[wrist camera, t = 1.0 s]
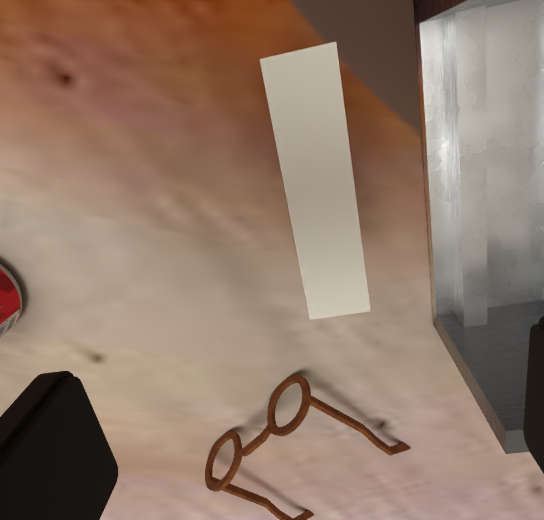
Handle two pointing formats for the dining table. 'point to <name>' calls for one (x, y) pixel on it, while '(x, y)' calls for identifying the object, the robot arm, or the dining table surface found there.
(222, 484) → the glasses
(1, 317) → the soda can
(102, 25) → the dining table surface
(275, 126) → the door panel
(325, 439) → the dining table surface
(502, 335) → the door track
